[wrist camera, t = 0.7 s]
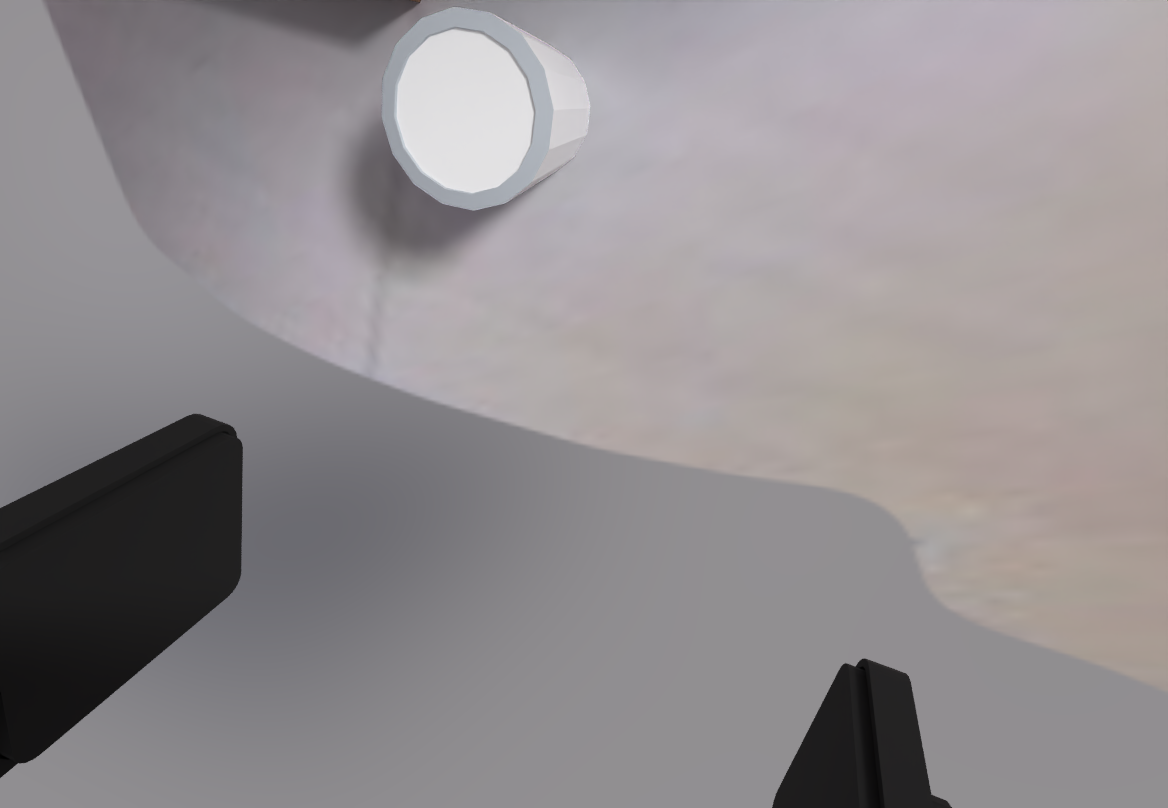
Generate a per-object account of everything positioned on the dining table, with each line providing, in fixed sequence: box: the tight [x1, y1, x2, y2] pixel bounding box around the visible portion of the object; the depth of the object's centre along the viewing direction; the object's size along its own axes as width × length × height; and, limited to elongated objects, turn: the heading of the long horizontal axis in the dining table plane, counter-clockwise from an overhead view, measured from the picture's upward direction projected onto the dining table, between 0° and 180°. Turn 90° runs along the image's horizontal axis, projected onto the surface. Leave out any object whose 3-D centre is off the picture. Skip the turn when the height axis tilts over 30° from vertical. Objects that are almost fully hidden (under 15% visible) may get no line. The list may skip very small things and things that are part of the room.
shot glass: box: [381, 7, 591, 211], centre depth 29 cm, size 7×7×7 cm
